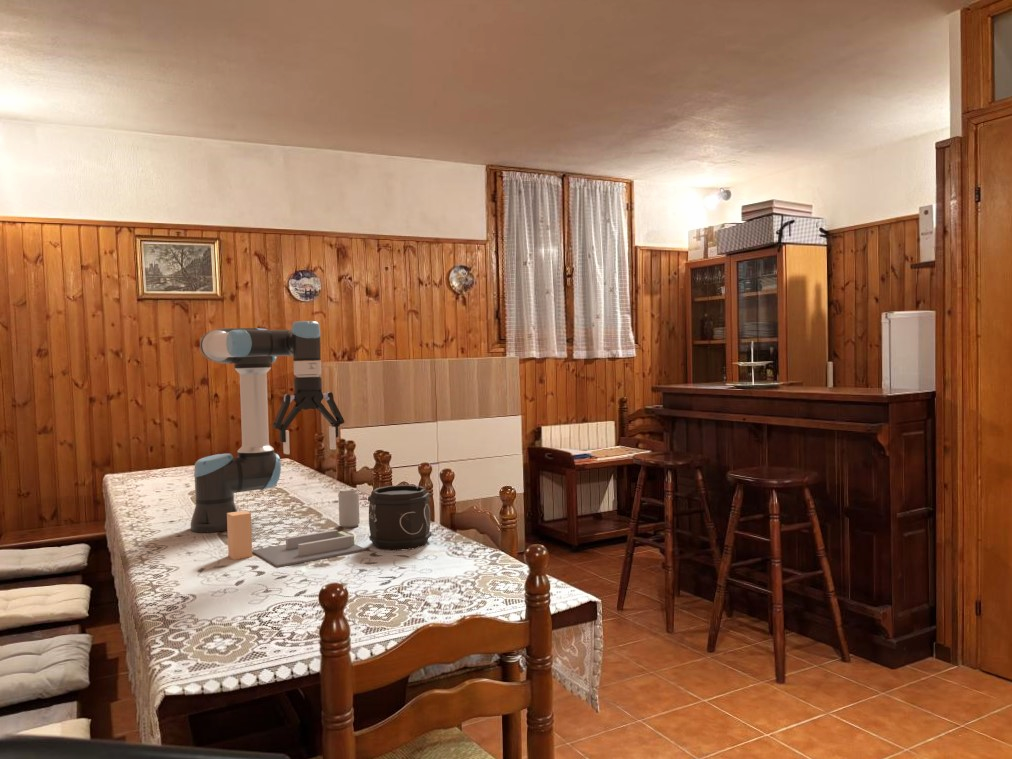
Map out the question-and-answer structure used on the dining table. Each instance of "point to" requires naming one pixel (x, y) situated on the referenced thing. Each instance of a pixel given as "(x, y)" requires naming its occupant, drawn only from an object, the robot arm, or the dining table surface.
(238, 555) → the block
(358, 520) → the beverage can
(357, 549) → the end holder
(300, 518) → the dining table surface
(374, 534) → the wooden barrel
